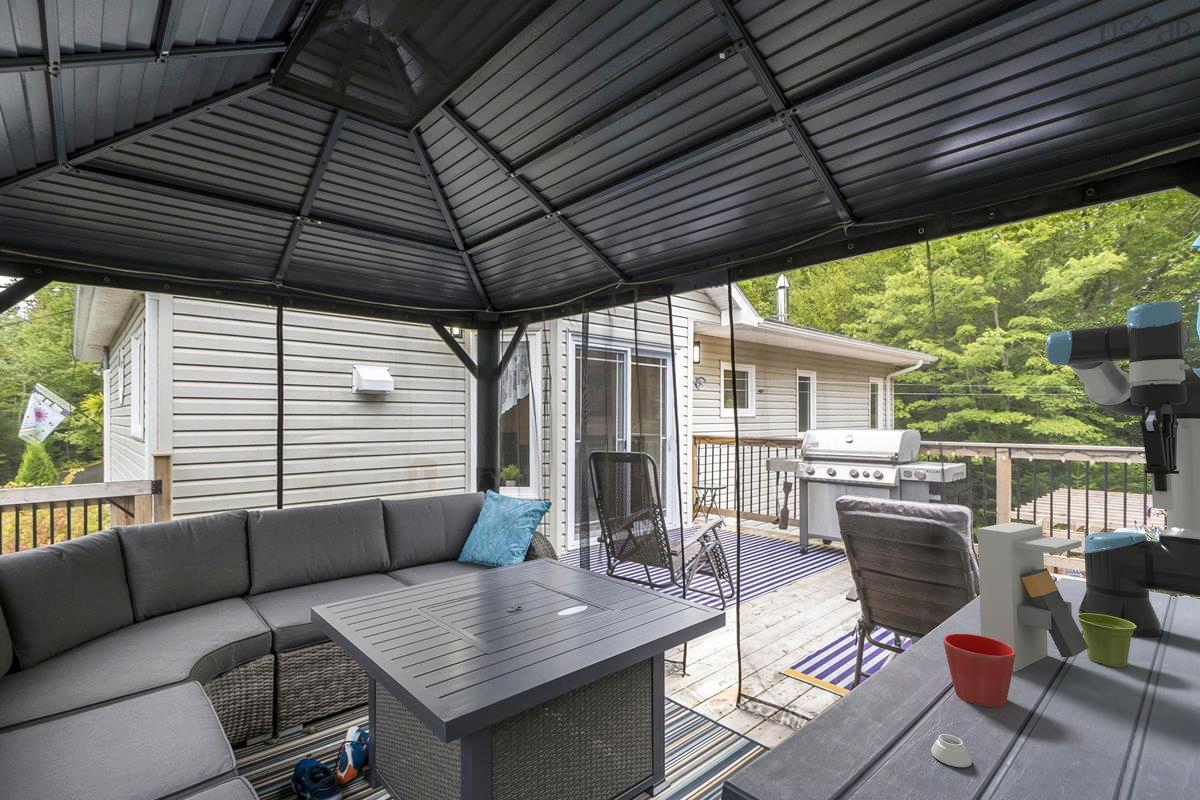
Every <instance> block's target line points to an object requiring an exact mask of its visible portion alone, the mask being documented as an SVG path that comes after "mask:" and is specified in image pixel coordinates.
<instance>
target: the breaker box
mask: <svg viewBox="0 0 1200 800" xmlns="http://www.w3.org/2000/svg"><path fill="white" fill-rule="evenodd" d="M1043 532H1044V531H1043V525H1039V524H1029V523H1021V522H1014V521H1009V522H1004V523H998V524H994V525H988V526H984V527H978V528H977V547H978V548H977V552H978V553H977V555H978V578H979V586H978V588H979V607H980V608H979V613H980V636H984V637H989V638H992V639H995V640H998V641H1001V642H1003V643H1005V644H1007V645H1009V646H1010V647H1012V648H1013V649H1014V651H1015V660H1014V665H1013V671H1012V673H1016V672H1019V671H1020V670H1022V669H1025V668H1026V667H1028V666H1030V665H1032V664H1034V663H1036V662H1038V661H1039V660H1042V659H1044V658H1045V657H1047V656H1048V653H1049V652H1048V651H1049V650H1048V634H1047V633H1048V630H1050V629H1052V624H1051V611H1049V610H1044V609H1040V608H1037V607H1036V605H1035V603H1034V601H1033V599H1032V597H1031V596H1030V594H1029V592H1028V590H1027V588H1026V586H1025V584H1024V582H1023V580H1022V578H1021V576H1020V575H1022V574H1025V573H1029V572H1032V571H1035V570H1039V569H1044V568H1045V559H1044V557H1045V556H1044V555H1045V553H1047V554H1048V553H1049V554H1055V555H1058V554H1061V553H1064V552H1068V551H1071V550H1075V549H1079V548H1081V547H1083V546H1082V545H1083V543H1082V540H1079V539H1070V538H1063V537H1057V536H1056V537H1054V536H1048V535H1044V533H1043ZM1064 602H1065V604H1066V606H1067V608H1068V609H1069V611H1070V613H1071V615H1072V616H1073V612H1072V609H1073V606H1072V602H1070V601H1066V600H1064Z"/></svg>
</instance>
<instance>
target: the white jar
mask: <svg viewBox="0 0 1200 800" xmlns="http://www.w3.org/2000/svg"><path fill="white" fill-rule="evenodd" d="M930 750H931V755H932V756H933V757H934V758H935V759H936V760H937V761H940V762H941V763H942V764H945V765H947V766H949V767H950V766H951V767H954V768H968V767H970V766H971V765H972V763H973V762H972V757H971V755H970V753H969V751H968V749H967V748H966V746H965V745H964V742H963V740H962V739H961V738H959V737H957V736H954V735H951V734H948V733H943V734H942V733H941V734H940V735H938V738H937V739H936V740H935V742H934V743H933V745H932V747H931V749H930Z"/></svg>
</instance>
